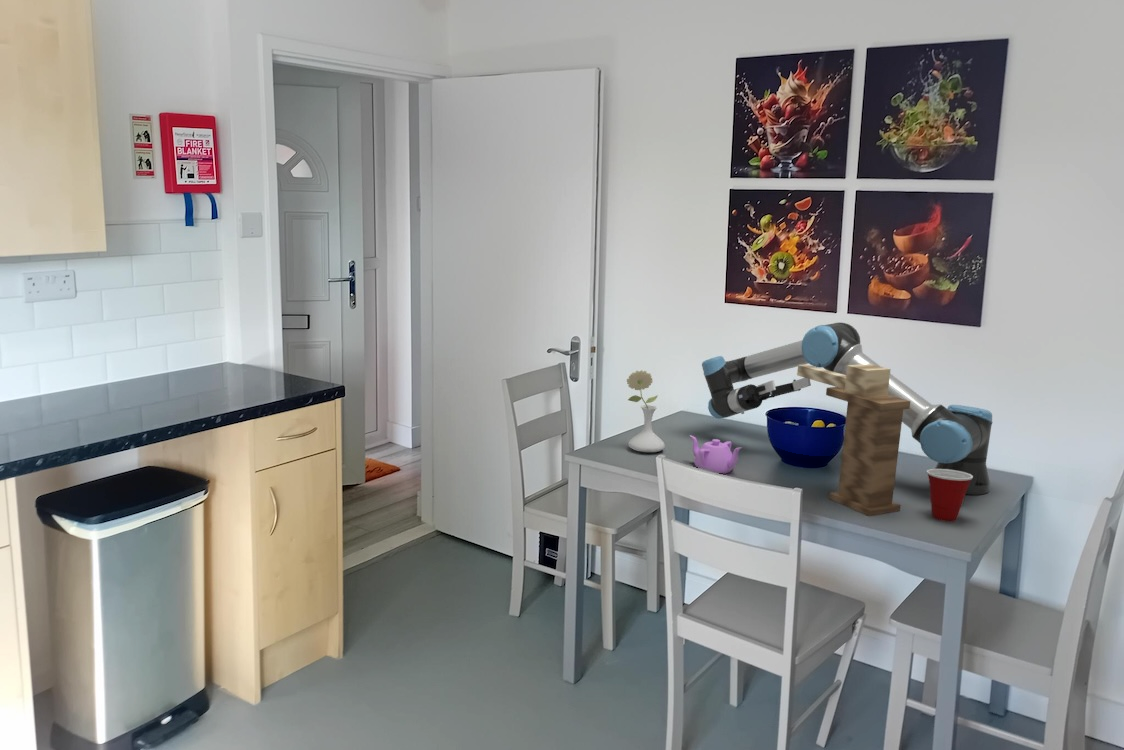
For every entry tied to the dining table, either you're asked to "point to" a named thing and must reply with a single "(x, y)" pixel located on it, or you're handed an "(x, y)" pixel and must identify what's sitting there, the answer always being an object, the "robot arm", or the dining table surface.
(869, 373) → the meat mallet
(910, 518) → the dining table surface
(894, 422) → the walnut stand
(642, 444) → the flower in vase
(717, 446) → the teapot
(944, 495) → the plastic cup
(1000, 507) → the dining table surface
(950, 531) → the dining table surface
